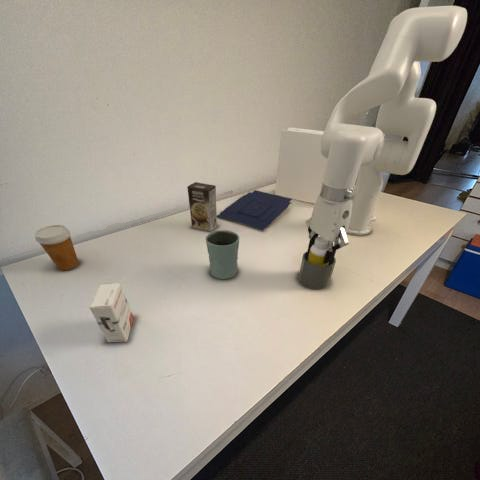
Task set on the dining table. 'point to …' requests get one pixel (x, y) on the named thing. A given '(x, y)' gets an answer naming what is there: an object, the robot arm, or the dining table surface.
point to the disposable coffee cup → (58, 246)
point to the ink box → (112, 312)
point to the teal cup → (223, 253)
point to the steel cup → (315, 273)
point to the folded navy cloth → (256, 209)
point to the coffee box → (202, 206)
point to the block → (300, 164)
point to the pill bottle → (318, 252)
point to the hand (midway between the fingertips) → (319, 255)
